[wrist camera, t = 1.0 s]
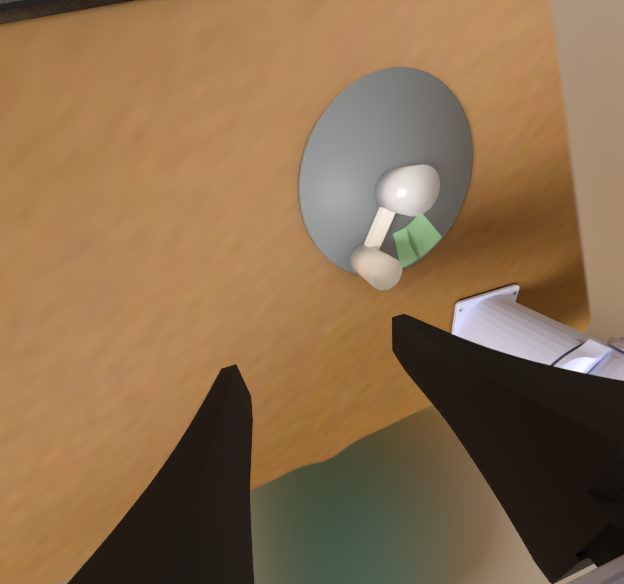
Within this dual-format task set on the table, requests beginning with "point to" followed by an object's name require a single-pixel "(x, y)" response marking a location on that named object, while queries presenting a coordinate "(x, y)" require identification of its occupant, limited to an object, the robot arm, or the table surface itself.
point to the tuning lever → (392, 199)
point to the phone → (45, 7)
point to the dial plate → (383, 163)
